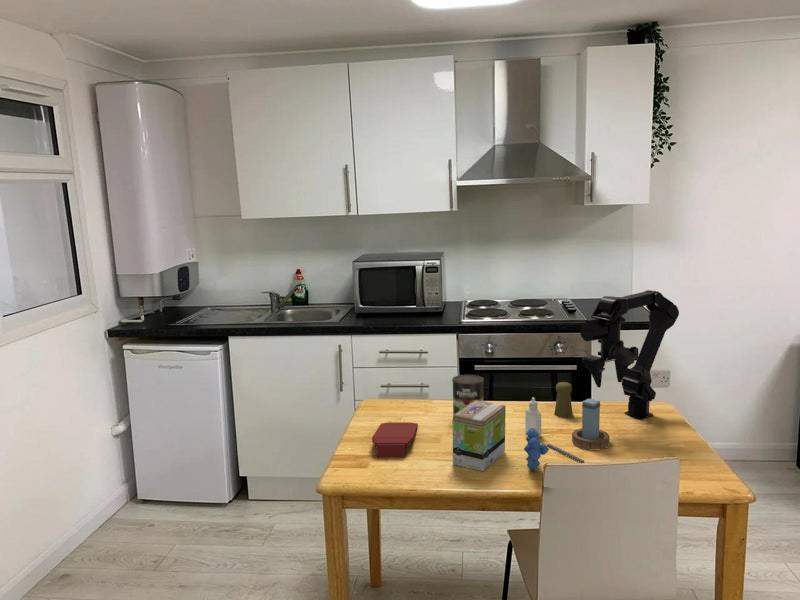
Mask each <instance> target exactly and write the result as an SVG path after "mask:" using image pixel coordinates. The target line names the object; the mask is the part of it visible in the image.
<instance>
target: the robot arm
mask: <svg viewBox="0 0 800 600" xmlns="http://www.w3.org/2000/svg"><path fill="white" fill-rule="evenodd" d="M641 307H645V308H646V309H647V310H648V311H649V314H648V318H649V319H648V320H649V328H648V331H647V334H646V336H645V338H644V341H643V343H642V346H641V348H640V351H639V348H638V347H636V346H631V347H625V346H624V345H625V342H624V340H622V339H621V323H624V322H626V320H627V319H626V318H624V317H623V316H624V315H625V314H627V313H628V311H630V310H634V309H637V308H641ZM679 315H680V310H679V307H678V306H677V305H676V304H675V303H674V302H672V301H671V300H669V299H668V298H666V297H665V296H664V295H663V294H662V293H661V292H660V291H657V290H650V289H649V290H648V289H647V290H644V291H642V292H638V293H634V294H629V295H624V296H613V295H612V296H611V295H610V296H609V295H608V296H607V295H606V296H602V297H601V298H600V300H599V301H598V303H597V304H596V307H595V308H594V311H593V313H592V314H591V316H590V318H586V319H585V323H583V324H582V325H581V327H580V328H579V332H580V336H581V338H582V340H583V341H584V342H585V341H586V342H593V341H597V343H599V344H600V351H597V355H595V354H594V355H593V354H591V355H587V356H584V357H583V358H582V361H581V362H582V363H581V365H582V366H583V367H584V368H585V369H588V372H589V373H590V374H591V376H592V378H593V382H594V383H595V385H596V388H601V386H602V381H603V380H602V378H603V372H604V371H605V370H606V368H605V366H606V363H610V362H614V365H615V366H614V367H615V373H616V379H617V382H618V383H621V387H622V390H623V394H624V395H625V396H628V405H627V411H625V412H624V414H625V415H627V416H630V417H633V418H635V419H638V420H642V419H646V418H648V417H652V416H654V414H653V413H652V412H650V402H652V401H653V400H655V399H656V398H655V397H656V395H657V392H656V391H655V390H654V389H653V387H651V385H652V376H651V369H652V367H653V364H654V362H655V359H656V357H657V354H658V351H659V349H660V346H661V344H662V341H663V339H664V336H665V333H666V332H667V331H668V330H670V328H672V327H673V326H674V325H675V324H676V321H677V319H678V317H679ZM599 356H600V357H599ZM635 361H636V362H635ZM633 364H634V365H633ZM631 365H633V366H632V367H631V368H628V367H630V366H631Z"/></svg>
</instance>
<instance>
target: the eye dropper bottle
mask: <svg viewBox="0 0 800 600" xmlns="http://www.w3.org/2000/svg"><path fill="white" fill-rule="evenodd" d="M528 403H529V404H528V405H529V406H528V408H526V410H525V413H524V414H525V416H524V419H525V423H524V424H525V430H524V432H525V434H526V433H527V431H528V430H529V429H531V428H534V429H535V430H536V431H537V432H538V433H539V437H538V438H540V437H542V413H541V411H540V410H539V408H538V401H536V398H535V397H533V396H532V398H531V400H530V401H529V402H528Z"/></svg>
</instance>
